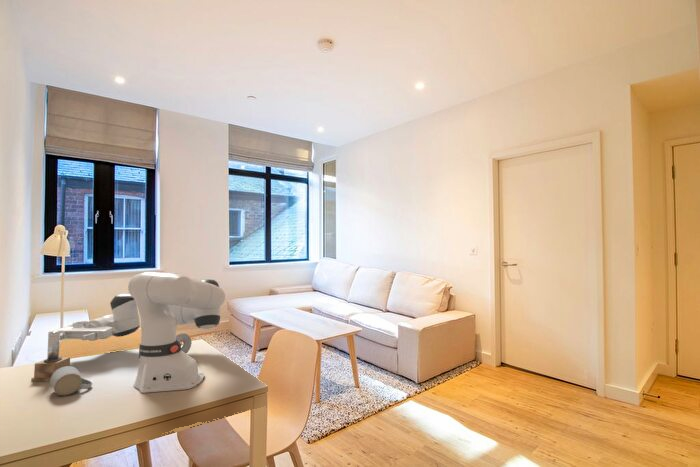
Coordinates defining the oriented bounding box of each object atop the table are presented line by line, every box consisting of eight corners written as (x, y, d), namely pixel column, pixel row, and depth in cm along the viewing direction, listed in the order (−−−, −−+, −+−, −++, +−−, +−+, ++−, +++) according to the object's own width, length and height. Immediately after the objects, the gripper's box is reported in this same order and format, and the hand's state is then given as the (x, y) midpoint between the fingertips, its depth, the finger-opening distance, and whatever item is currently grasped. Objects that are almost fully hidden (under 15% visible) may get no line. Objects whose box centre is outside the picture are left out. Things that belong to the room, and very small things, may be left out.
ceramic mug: (53, 400, 108) (55, 375, 108) (49, 392, 113) (50, 368, 113) (94, 390, 116) (96, 367, 116) (88, 383, 121) (90, 361, 121)
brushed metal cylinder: (60, 357, 128) (62, 330, 128) (54, 360, 125) (55, 332, 125) (52, 357, 128) (53, 330, 128) (44, 360, 124) (46, 332, 125)
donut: (172, 360, 145) (173, 336, 146) (167, 359, 147) (168, 335, 147) (192, 354, 154) (193, 331, 155) (187, 352, 156) (188, 330, 156)
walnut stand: (71, 372, 130) (72, 355, 130) (54, 381, 122) (55, 362, 122) (49, 372, 130) (50, 355, 130) (31, 381, 122) (32, 363, 122)
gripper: (119, 336, 149) (98, 346, 136) (70, 336, 148) (43, 346, 134) (120, 322, 150) (98, 330, 136) (71, 322, 148) (44, 330, 135)
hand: (71, 338), depth 135 cm, fingers open, 8 cm apart
